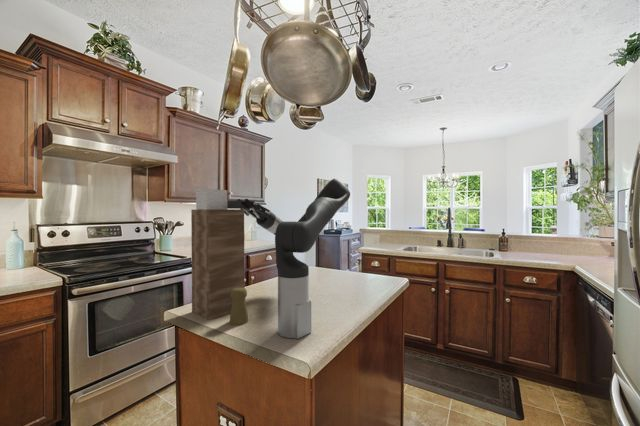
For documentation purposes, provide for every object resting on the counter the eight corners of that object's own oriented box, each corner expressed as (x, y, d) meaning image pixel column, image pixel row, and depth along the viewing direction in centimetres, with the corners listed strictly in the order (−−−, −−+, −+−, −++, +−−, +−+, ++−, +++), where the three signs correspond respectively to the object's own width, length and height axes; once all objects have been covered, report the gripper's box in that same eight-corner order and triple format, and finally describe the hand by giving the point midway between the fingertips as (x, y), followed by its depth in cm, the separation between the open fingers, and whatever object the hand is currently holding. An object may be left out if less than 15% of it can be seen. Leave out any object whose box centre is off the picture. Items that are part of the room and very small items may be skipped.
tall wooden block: (244, 308, 110) (244, 209, 110) (210, 319, 99) (209, 209, 99) (225, 302, 117) (225, 209, 117) (191, 311, 106) (191, 209, 106)
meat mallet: (257, 209, 118) (257, 192, 118) (207, 209, 101) (206, 188, 100) (246, 209, 122) (246, 192, 122) (196, 209, 105) (196, 189, 105)
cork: (243, 325, 94) (243, 291, 94) (225, 324, 95) (225, 290, 95) (251, 318, 100) (251, 286, 99) (235, 317, 101) (234, 285, 101)
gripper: (262, 213, 133) (234, 193, 121) (284, 214, 124) (256, 192, 113) (255, 228, 130) (226, 209, 119) (277, 229, 121) (248, 209, 110)
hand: (241, 201), depth 116 cm, fingers open, 4 cm apart
